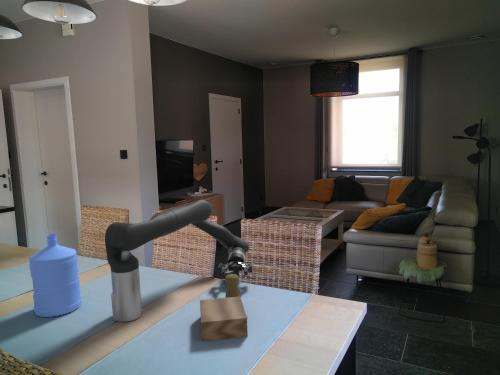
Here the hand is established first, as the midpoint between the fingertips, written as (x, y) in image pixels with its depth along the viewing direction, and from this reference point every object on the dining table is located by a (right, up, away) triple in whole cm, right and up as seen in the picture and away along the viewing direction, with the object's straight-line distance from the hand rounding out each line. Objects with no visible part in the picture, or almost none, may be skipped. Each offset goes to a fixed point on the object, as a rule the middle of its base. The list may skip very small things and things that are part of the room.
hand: (234, 274), depth 147 cm
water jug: (-65, -11, -10) cm, 66 cm away
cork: (0, -9, -10) cm, 13 cm away
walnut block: (-3, -11, -27) cm, 29 cm away
